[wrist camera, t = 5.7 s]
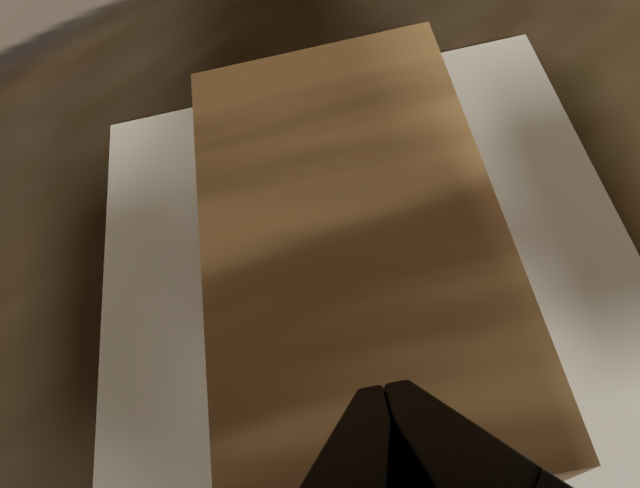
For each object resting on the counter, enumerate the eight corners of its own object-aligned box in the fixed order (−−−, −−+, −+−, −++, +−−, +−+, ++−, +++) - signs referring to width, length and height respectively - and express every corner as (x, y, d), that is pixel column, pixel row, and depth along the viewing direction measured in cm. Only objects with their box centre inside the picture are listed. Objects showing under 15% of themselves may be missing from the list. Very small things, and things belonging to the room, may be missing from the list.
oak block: (600, 465, 10) (428, 21, 16) (214, 536, 10) (190, 74, 16) (549, 487, 13) (424, 116, 19) (264, 539, 13) (229, 159, 19)
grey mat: (925, 864, 10) (964, 887, 9) (88, 988, 11) (65, 1019, 10) (521, 51, 21) (525, 34, 20) (120, 138, 22) (110, 125, 21)
